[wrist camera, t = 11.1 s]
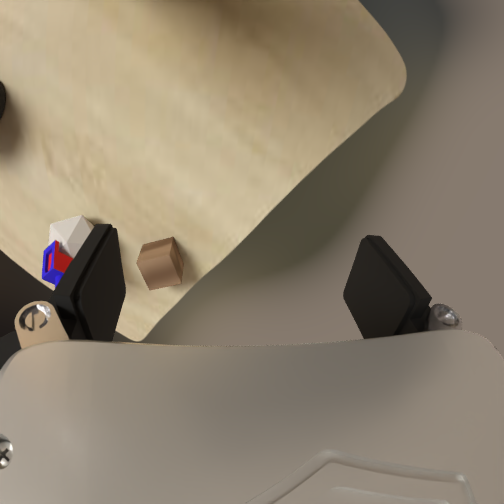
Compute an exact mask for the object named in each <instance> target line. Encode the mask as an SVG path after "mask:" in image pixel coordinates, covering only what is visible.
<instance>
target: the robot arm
mask: <svg viewBox="0 0 504 504" xmlns="http://www.w3.org/2000/svg"><path fill="white" fill-rule="evenodd" d="M125 294H126V287H125V281H124V275H123V269H122V263H121V256H120V249H119V241H118V233H117V229H116V228H113V227H112V225H111V224H96V225H95V226H94V228H93V229H92V231H91V232H90V234H89V235H88V237H87V238H86V240H85V241H84V243H83V245H82V246H81V248H80V249H79V251H78V252H77V254H76V256H75V257H74V259H73V260H72V261H71V262H70V264H69V266H68V267H67V269H66V271H65V272H64V274H63V276H62V278H61V279H60V281H59V283H58V284H57V286H56V288H55V290H54V292H53V293H52V295H51V297H50V299H49V301H48V302H45V301H35V302H32V303H30V304H28V305H26V306H24V307H23V308H22V309H21V310H20V311H19V313H18V314H17V316H16V319H15V328H16V330H15V331H13V332H11V333H9V334H7V335H5V336H3V337H2V338H0V504H504V359H503V358H502V356H501V355H500V353H499V352H498V351H497V349H496V348H495V347H494V346H493V345H492V344H491V343H490V341H489V340H487V339H486V338H485V337H483V336H481V335H479V334H476V333H474V332H469V331H465V330H462V319H461V318H460V316H459V314H458V313H457V312H456V311H455V310H453V309H452V308H451V307H449V306H447V305H444V304H434V305H433V306H432V307H431V308H430V307H429V303H430V301H431V299H432V297H431V296H430V295H429V293H428V292H427V291H426V289H425V288H424V287H423V286H422V284H421V283H420V282H419V281H418V279H417V278H416V277H415V276H414V274H413V273H412V272H411V271H410V270H409V268H408V267H407V266H406V265H405V264H404V262H403V261H402V260H401V259H400V258H399V257H398V255H397V254H396V253H395V252H394V251H393V249H392V248H391V247H390V246H389V245H388V244H387V243H386V241H385V240H384V239H383V238H382V237H381V236H374V235H367V236H366V237H365V238H363V239H362V240H361V242H360V245H359V248H358V252H357V254H356V257H355V260H354V263H353V266H352V269H351V272H350V275H349V278H348V281H347V283H346V286H345V289H344V294H343V297H344V300H345V302H346V304H347V306H348V308H349V310H350V312H351V314H352V316H353V318H354V320H355V322H356V324H357V325H358V328H359V329H360V332H361V334H362V336H363V338H364V339H360V340H350V341H337V342H324V343H311V344H310V343H309V344H291V345H266V346H182V345H159V344H158V345H157V344H141V343H127V342H112V340H113V336H114V333H115V329H116V326H117V322H118V319H119V315H120V312H121V308H122V305H123V302H124V298H125Z"/></svg>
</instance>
